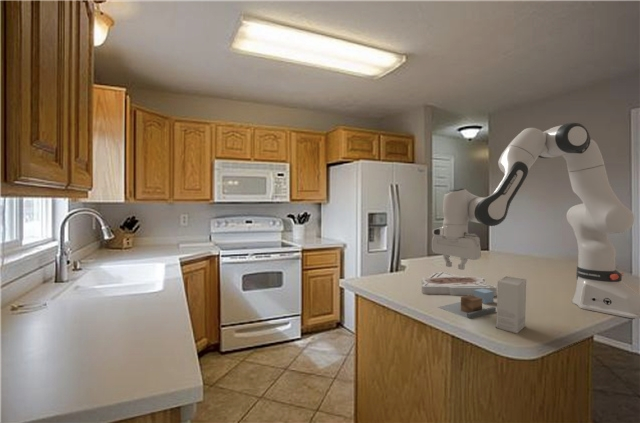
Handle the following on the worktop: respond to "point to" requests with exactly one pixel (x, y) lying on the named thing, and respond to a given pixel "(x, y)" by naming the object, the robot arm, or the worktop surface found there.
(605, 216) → the robot arm
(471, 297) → the walnut block
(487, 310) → the grey flat square slab
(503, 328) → the skincare box
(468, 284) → the decorative sign
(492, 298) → the blue block
